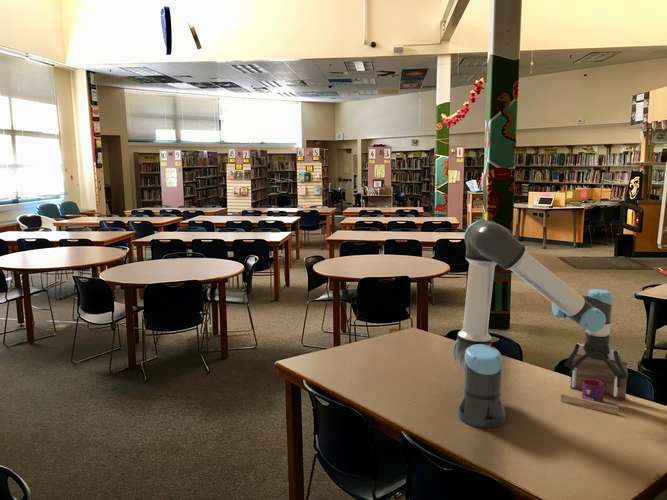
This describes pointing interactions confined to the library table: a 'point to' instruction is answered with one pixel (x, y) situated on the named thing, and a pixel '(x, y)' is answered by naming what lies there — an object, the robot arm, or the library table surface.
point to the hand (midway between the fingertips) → (594, 390)
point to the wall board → (599, 375)
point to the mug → (593, 390)
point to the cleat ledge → (589, 404)
